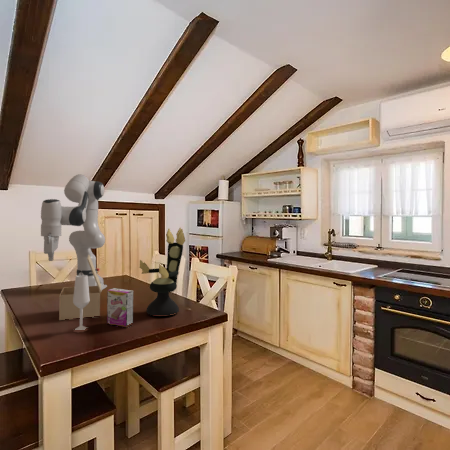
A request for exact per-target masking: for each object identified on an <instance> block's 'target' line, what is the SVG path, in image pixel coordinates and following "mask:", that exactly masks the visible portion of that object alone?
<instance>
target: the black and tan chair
mask: <svg viewBox="0 0 450 450" xmlns="http://www.w3.org/2000/svg"><path fill="white" fill-rule="evenodd" d="M167 229H168V230H166V231H167V232H166V241H165V242H167V244H168V245H167V256H166V257H167V259H166V267H164V266H162V265H161V264H158V268H150V267H149V266H148V264H147V263H146V262H145V261H143V260H141V259H139V269H141V274H144V275H145V274H154V273H156V274H157V273H158V274H160V277H158V278H156V279H154V280H153V281H151V283H150V284H149V289H150V290H151V291H152V292H153V293H156V295H157V296H156V297H155V299H154V300H152V301H151V302H150V303H149V305H147V307H146V313H147V314H148V315H149V314H150V315H149V316H151V315H170V314H174V313H177V312H178V313H179V312H180V308H179V306H178V304H177V303H176V302H175V301H174V300H173V299H172V298H171V297H170V294H169V293H172V292H174V291H176V289H177V287H178V284H177V283H178V282H177V281H178V277H179V276H178V275H179V269H180V266H181V260H182V256H183V251H184V243H185V242H186V237H185V234H184V230H183V228H182V227H181V226H179V229H178V230H177V232H176V237H174V235H173V234H172V232H171V230H170V229H171V228H167ZM178 313H177V314H178Z"/></svg>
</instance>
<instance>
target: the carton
mask: <svg viewBox="0 0 450 450" xmlns="http://www.w3.org/2000/svg"><path fill="white" fill-rule="evenodd" d="M74 288H75V286H72V287H71V286H69V287H62V288H61V292H60V294H59V296H58V297H59V307H58V310H59V312H58V313H59V314H58V316H59V317H58V320H59V321H66V320H65V319H69V320H74V319H73V318H80V308H78V307H77V306H75V305H74V303H73V297H74ZM89 297H90V301H89V303H88V304H87V305H86V306H85V307H84V308H83V319H85V318H84V317H92V318H95V317H94V316H100V317H101V293H100V291H99V288H98V286H89Z"/></svg>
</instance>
